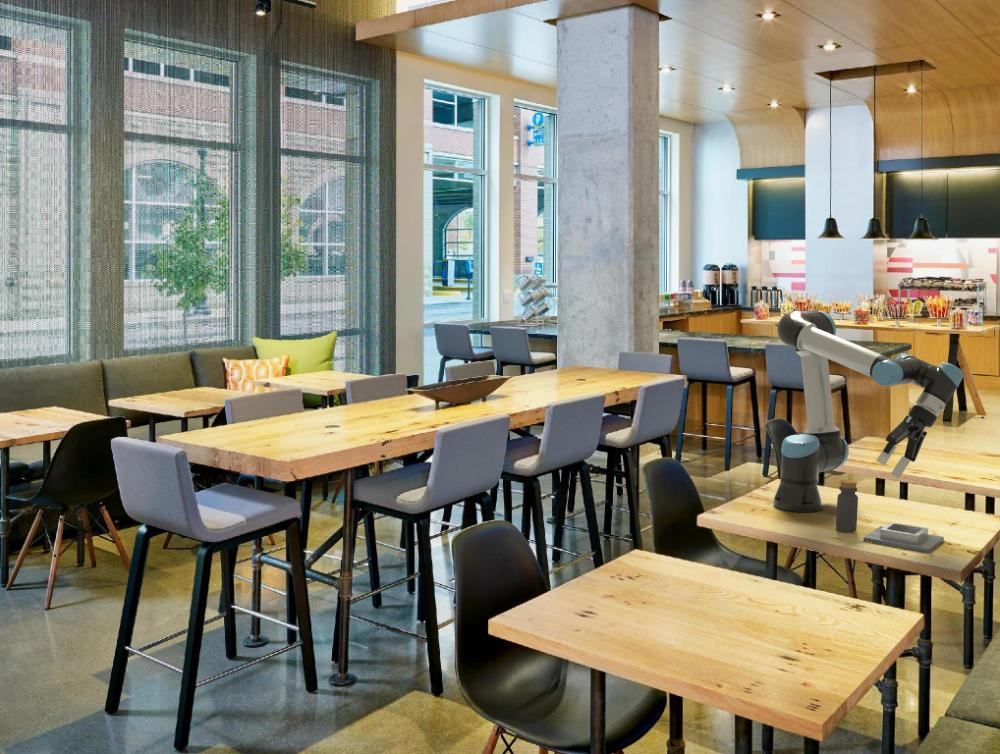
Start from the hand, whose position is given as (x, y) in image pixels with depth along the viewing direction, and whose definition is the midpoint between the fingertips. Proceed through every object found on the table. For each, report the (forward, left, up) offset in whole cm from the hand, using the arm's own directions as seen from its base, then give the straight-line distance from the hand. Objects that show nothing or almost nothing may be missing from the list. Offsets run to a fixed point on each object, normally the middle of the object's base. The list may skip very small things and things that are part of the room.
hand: (887, 469), depth 296 cm
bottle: (-8, -10, -18) cm, 22 cm away
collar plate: (+9, -11, -18) cm, 23 cm away
